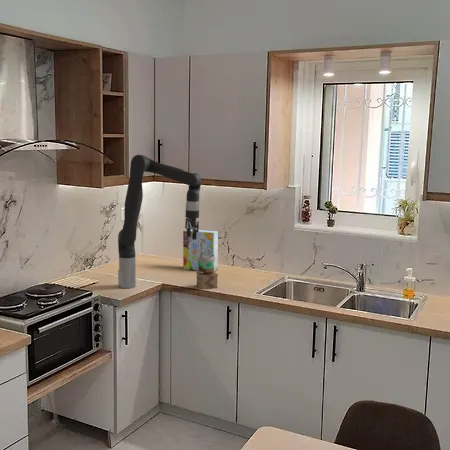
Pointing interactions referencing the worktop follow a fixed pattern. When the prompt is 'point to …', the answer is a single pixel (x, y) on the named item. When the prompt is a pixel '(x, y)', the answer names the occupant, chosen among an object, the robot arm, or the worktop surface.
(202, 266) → the food container
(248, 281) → the worktop surface
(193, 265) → the snack box
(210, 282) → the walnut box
